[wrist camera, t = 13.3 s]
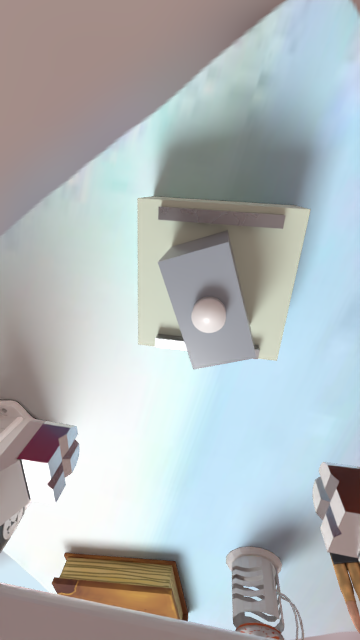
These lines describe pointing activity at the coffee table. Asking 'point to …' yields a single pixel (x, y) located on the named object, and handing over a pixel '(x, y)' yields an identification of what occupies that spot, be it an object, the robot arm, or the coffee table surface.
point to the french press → (257, 592)
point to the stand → (249, 253)
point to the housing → (208, 300)
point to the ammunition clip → (348, 582)
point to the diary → (124, 583)
